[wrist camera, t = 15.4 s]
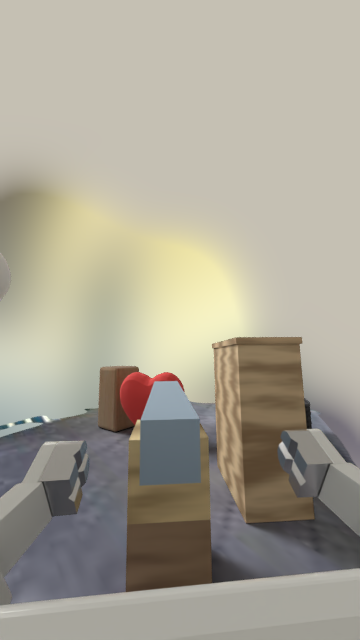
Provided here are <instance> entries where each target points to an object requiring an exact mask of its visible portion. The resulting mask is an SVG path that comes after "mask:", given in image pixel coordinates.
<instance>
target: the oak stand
mask: <svg viewBox="0 0 360 640" xmlns="http://www.w3.org/2000/svg"><path fill="white" fill-rule="evenodd" d="M301 343H302V338H301V337H259V338H256V337H252V338H251V337H248V338H246V337H243V338H241V337H239V338H232V339H229V340H225V341H221V342H218V343H214V344H212V348H214V370H215V398H216V399H215V401H216V433H217V464H218V468H219V470H220V472H221V474H222V476H223V478H224V480H225V482H226V484H227V486H228V488H229V490H230V492H231V494H232V496H233V498H234V500H235V502H236V504H237V506H238V508H239V510H240V512H241V514H242V516H243V518H244V520H245V522H246V523H259V522H276V521H293V520H310V519H315V518H314V507H313V497H302V498H297V496H296V494H295V492H294V490H293V488H292V487H291V485H290V483H289V481H288V480H289V474H288V473H286V472H285V471H284V470H283V469H282V467H281V465H280V462H279V459H278V452H277V451H278V445H279V444H280V443H281V442H282V439H281V438H280V437H281V433H282V432H283V431H284V430H300V429H307V426H306V414H305V403H304V391H303V380H302V369H301V357H300V346H299V344H301Z"/></svg>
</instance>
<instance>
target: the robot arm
mask: <svg viewBox="0 0 360 640" xmlns="http://www.w3.org/2000/svg"><path fill="white" fill-rule="evenodd" d="M10 282H11V274H10V269H9V266H8V264H7V262H6V260H5V258H4V257H3V255H2V254H1V253H0V301H1V299H2V298H3V297H4V295H5V294H6V293H7V291H8V289H9V286H10ZM280 438H281V439H282V442H281V443H280V444H279V445H278V451H277V452H278V459H279V462H280V465H281V467H282V469H283V470H284V471H285V472H286V473H288V474H289V480H288V481H289V483H290V485H291V487H292V488H293V490H294V492H295V494H296V496H297V498H302V497H318V498H319V499H320V500H321V501H322V502H323V503H324V504H325V505H326V506H327V507H328V508H329V509H330V510H332V511H333V512H334V513H335V514H336V515H337V516H338V517H339V518H340V519H341V520H342V521H343V522H344V523H345V524H346V525H348V526H349V527H350V528H351V529H352V530H353V531H354V532H355V533H356V534H357V535H358V536H359V537H360V469H359V468H358V467H356V466H355V465H353V464H351V463H346V461H345V460H344V459H343V458H342V456H341V455H340V454H339V453H338V451H337V450H336V449H335V448H334V446H333V445H332V444H331V443H330V441H329V440H328V439H327V437H326V436H325V435H324V434H323V432H322V431H321V430H319V429H300V430H284V431H283V432H282V433H281V437H280ZM86 449H87V444H86V441H59V442H45V443H44V444H43V445H42V446H41V448H40V450H39V452H38V454H37V456H36V457H35V459H34V461H33V463H32V465H31V467H30V469H29V470H28V472H27V474H26V476H25V478H24V480H23V482H22V483H20V484H16V485H15V486H14V487H13V488H12V489H10V490H9V491H8V492H7V493H6V494H4V495H3V496H2V497H1V498H0V640H360V568H357V569H347V570H337V571H327V572H317V573H308V574H298V575H288V576H278V577H269V578H259V579H249V580H240V581H230V582H220V583H210V584H201V585H191V586H181V587H172V588H162V589H152V590H143V591H133V592H123V593H114V594H104V595H94V596H84V597H75V598H65V599H55V600H46V601H36V602H26V603H16V604H10V602H11V599H12V595H11V592H10V590H9V587H8V585H7V583H6V581H5V579H4V577H5V576H6V575H7V573H8V572H9V571H10V570H11V568H12V567H13V566H14V565H15V563H16V562H17V561H18V560H19V559H20V557H21V556H22V555H23V554H24V552H25V551H26V550H27V549H28V548H29V546H30V545H31V544H32V543H33V541H34V540H35V539H36V538H37V536H38V535H39V534H40V533H41V532H42V530H43V529H44V528H45V527H46V525H47V524H48V523H49V522H50V520H51V519H52V517H54V516H64V515H73V514H77V512H78V508H79V505H80V501H81V498H82V489H81V487H82V486H83V485H84V484H85V483H86V480H87V477H88V471H89V456H88V455H87V454H86Z"/></svg>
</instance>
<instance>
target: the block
mask: <svg viewBox="0 0 360 640" xmlns="http://www.w3.org/2000/svg"><path fill="white" fill-rule="evenodd" d="M134 372H139V369H138V367H136V366H112V367H102V368H101V369H100V384H99V385H100V386H99V410H98V426H99V427H101V428H104V429H108V430H111V431H115V432H116V431H120V430H123V429H126V428H130V427H133V426H135V425H134V424H133V423H132V421H131V420H130V419H129V417H128V416H127V414H126V413H125V411H124V409H123V407H122V404H121V401H120V388H121V385H122V383H123V381H124V379H125V378H126V377H127V376H128V375H130V374H132V373H134Z"/></svg>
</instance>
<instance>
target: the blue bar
mask: <svg viewBox="0 0 360 640" xmlns="http://www.w3.org/2000/svg"><path fill="white" fill-rule="evenodd" d="M185 483H201V462H200V419H199V417H198V415H197V413H196V412H195V410H194V408H193V407H192V405H191V403H190V402H189V400H188V398H187V396H186V395H185V393H184V391H183V390H182V388H181V386H180V384H179V383H178V381H155V382H154V384H153V387H152V390H151V393H150V395H149V398H148V401H147V404H146V406H145V409H144V412H143V415H142V417H141V420H140V485H139V486H142V485H163V484H185Z"/></svg>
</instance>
